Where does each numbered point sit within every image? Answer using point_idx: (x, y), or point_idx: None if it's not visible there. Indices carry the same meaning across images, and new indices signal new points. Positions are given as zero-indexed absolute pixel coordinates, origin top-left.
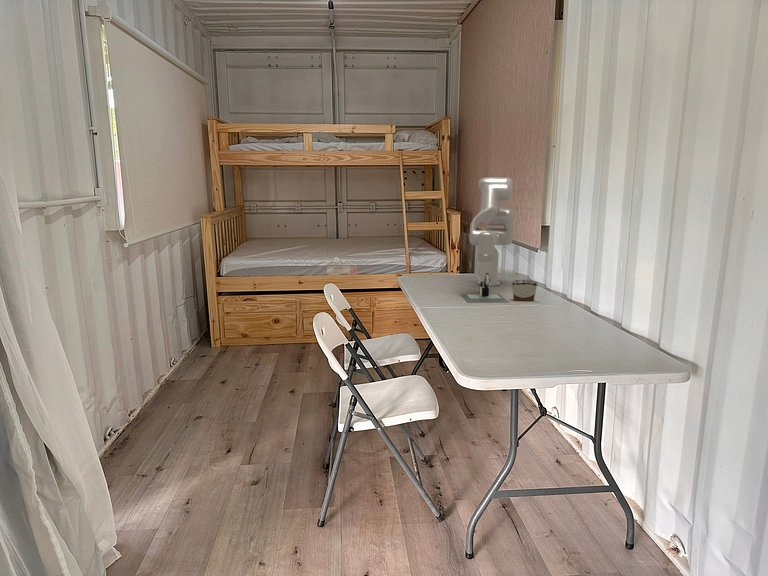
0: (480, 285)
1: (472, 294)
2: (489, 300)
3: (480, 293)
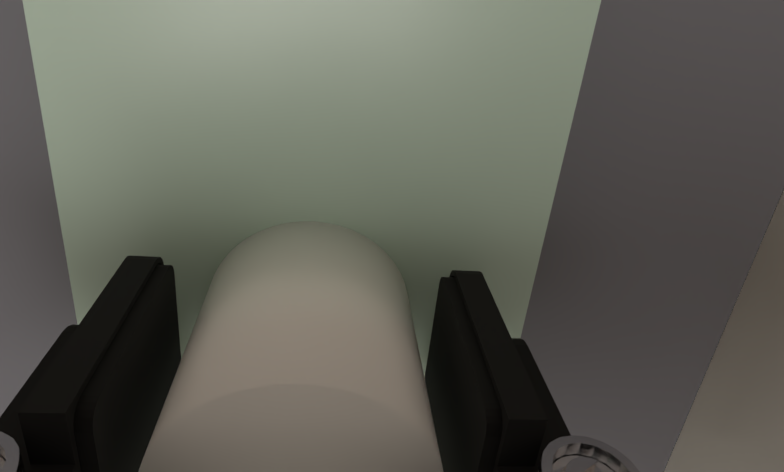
0: (546, 455)
1: (561, 95)
2: None
3: (263, 265)
